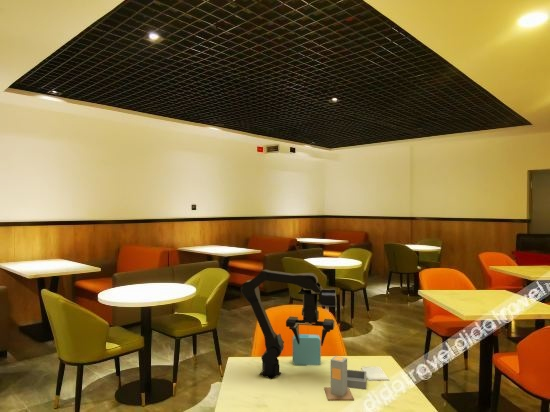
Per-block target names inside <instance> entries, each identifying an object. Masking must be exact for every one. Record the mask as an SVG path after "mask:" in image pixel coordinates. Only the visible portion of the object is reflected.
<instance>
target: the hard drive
mask: <svg viewBox="0 0 550 412" xmlns="http://www.w3.org/2000/svg"><path fill="white" fill-rule="evenodd" d="M360 369H361V371H366V380H367V381H368V382H373V381H374V382H378V381H379V382H380V381H381V382H390V378H389V377H388V375H387V374H386V373H385V371H384V370H383V369H382V367H381V366H361V367H360Z"/></svg>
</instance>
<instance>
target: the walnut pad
mask: <svg viewBox="0 0 550 412" xmlns="http://www.w3.org/2000/svg"><path fill="white" fill-rule="evenodd" d="M323 389H324V391H325V395H326V399H327V401H329V402H334V401H335V402H336V401H338V402H339V401H340V402H342V401H343V402H344V401H346V402H347V401H348V402H350V401H351V402H353V401H355V398H354V396H353V393H352V391H351V390H350V389H351V388H349V387H347V393H346V394H345V395H344V396H343V397H342V396H338V395H334V394H331V386H328V387H327V386H325V387H324V388H323Z"/></svg>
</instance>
